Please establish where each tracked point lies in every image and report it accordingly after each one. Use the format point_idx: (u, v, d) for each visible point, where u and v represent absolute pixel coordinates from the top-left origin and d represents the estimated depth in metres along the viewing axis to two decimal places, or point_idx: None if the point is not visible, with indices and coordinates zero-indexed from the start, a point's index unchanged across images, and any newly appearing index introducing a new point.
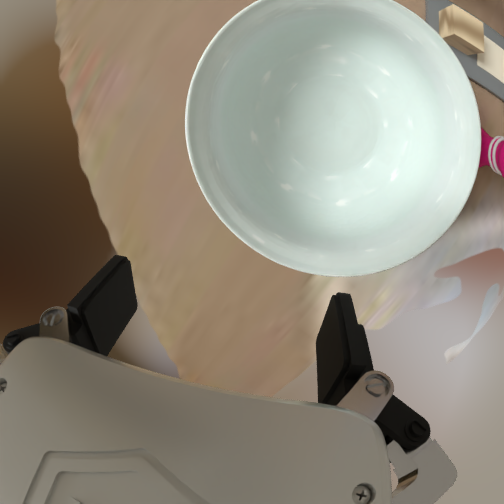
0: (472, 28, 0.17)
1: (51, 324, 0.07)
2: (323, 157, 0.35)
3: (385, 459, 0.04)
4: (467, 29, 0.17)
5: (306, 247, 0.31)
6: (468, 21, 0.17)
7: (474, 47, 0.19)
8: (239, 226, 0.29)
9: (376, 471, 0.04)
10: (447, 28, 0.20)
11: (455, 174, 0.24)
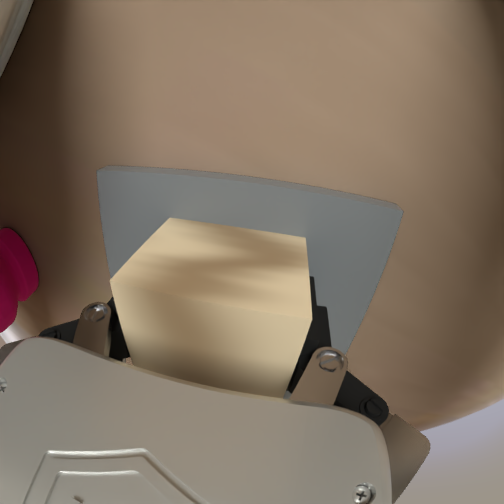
0: (210, 377, 0.09)
1: (92, 319, 0.08)
2: None
3: (385, 459, 0.04)
4: (188, 355, 0.09)
5: None
6: (237, 370, 0.09)
7: None
8: None
9: (376, 471, 0.04)
10: (177, 254, 0.09)
11: None
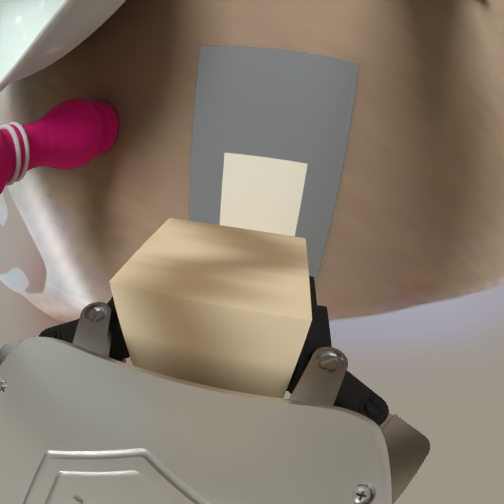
0: (210, 378, 0.09)
1: (92, 319, 0.08)
2: None
3: (385, 459, 0.04)
4: (188, 356, 0.09)
5: None
6: (236, 370, 0.09)
7: None
8: None
9: (376, 471, 0.04)
10: (177, 255, 0.09)
11: None
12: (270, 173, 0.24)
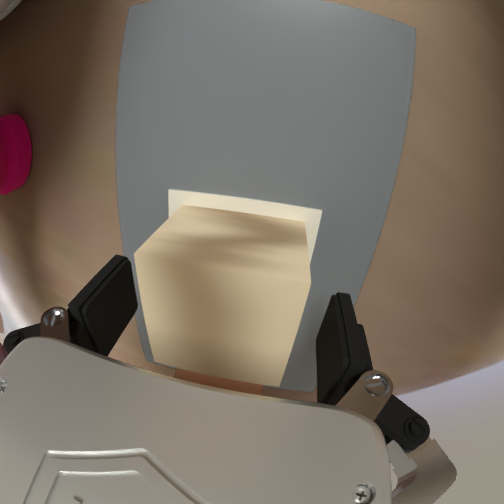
0: (221, 345, 0.10)
1: (52, 324, 0.07)
2: None
3: (385, 459, 0.04)
4: (202, 323, 0.10)
5: None
6: (245, 335, 0.10)
7: None
8: None
9: (376, 471, 0.04)
10: (192, 233, 0.11)
11: None
12: None
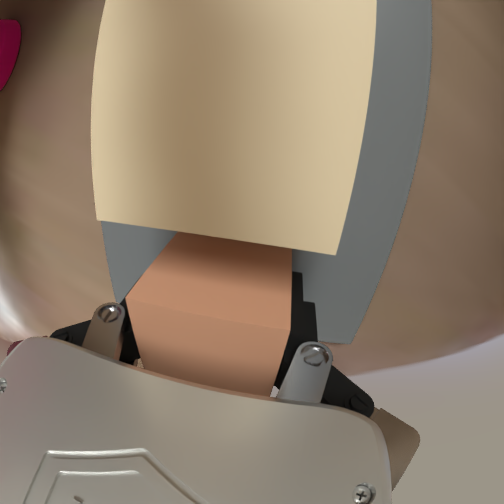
0: (221, 130, 0.05)
1: (105, 319, 0.08)
2: None
3: (385, 459, 0.04)
4: (188, 78, 0.04)
5: None
6: (272, 93, 0.04)
7: None
8: None
9: (376, 471, 0.04)
10: None
11: None
12: None
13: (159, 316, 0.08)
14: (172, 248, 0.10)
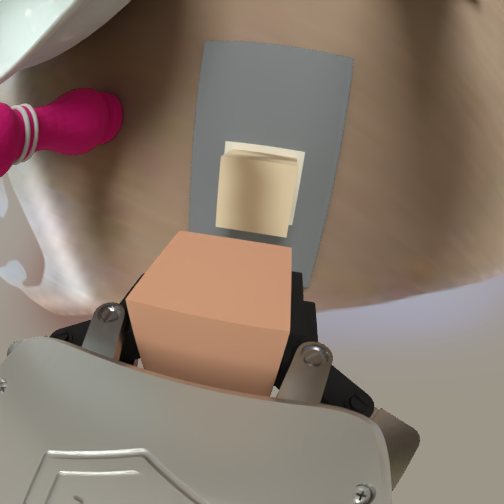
0: (257, 206, 0.22)
1: (105, 319, 0.08)
2: None
3: (385, 459, 0.04)
4: (249, 191, 0.21)
5: None
6: (269, 197, 0.21)
7: None
8: None
9: (376, 471, 0.04)
10: (244, 154, 0.22)
11: (0, 69, 0.11)
12: None
13: (159, 318, 0.08)
14: (172, 249, 0.11)
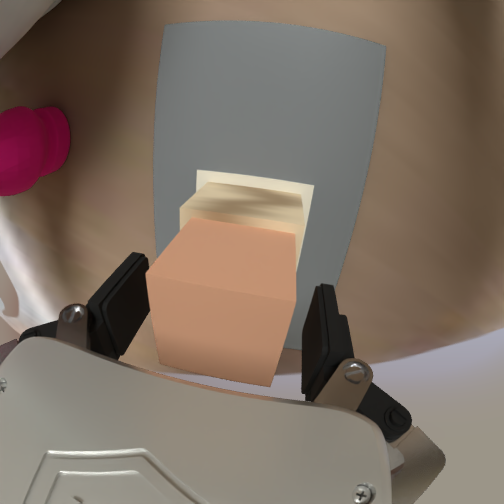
0: None
1: (70, 320, 0.08)
2: None
3: (385, 459, 0.04)
4: None
5: None
6: None
7: None
8: None
9: (376, 471, 0.04)
10: (219, 197, 0.15)
11: None
12: None
13: (176, 291, 0.09)
14: (186, 233, 0.12)
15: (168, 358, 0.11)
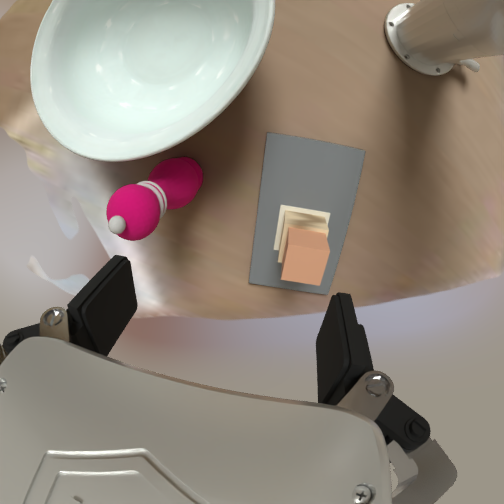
0: None
1: (51, 324, 0.07)
2: (137, 44, 0.29)
3: (385, 459, 0.04)
4: None
5: (51, 42, 0.20)
6: None
7: (279, 249, 0.38)
8: None
9: (376, 471, 0.04)
10: (295, 219, 0.37)
11: (111, 142, 0.27)
12: None
13: (297, 249, 0.32)
14: (291, 232, 0.34)
15: (285, 276, 0.34)
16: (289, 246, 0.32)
